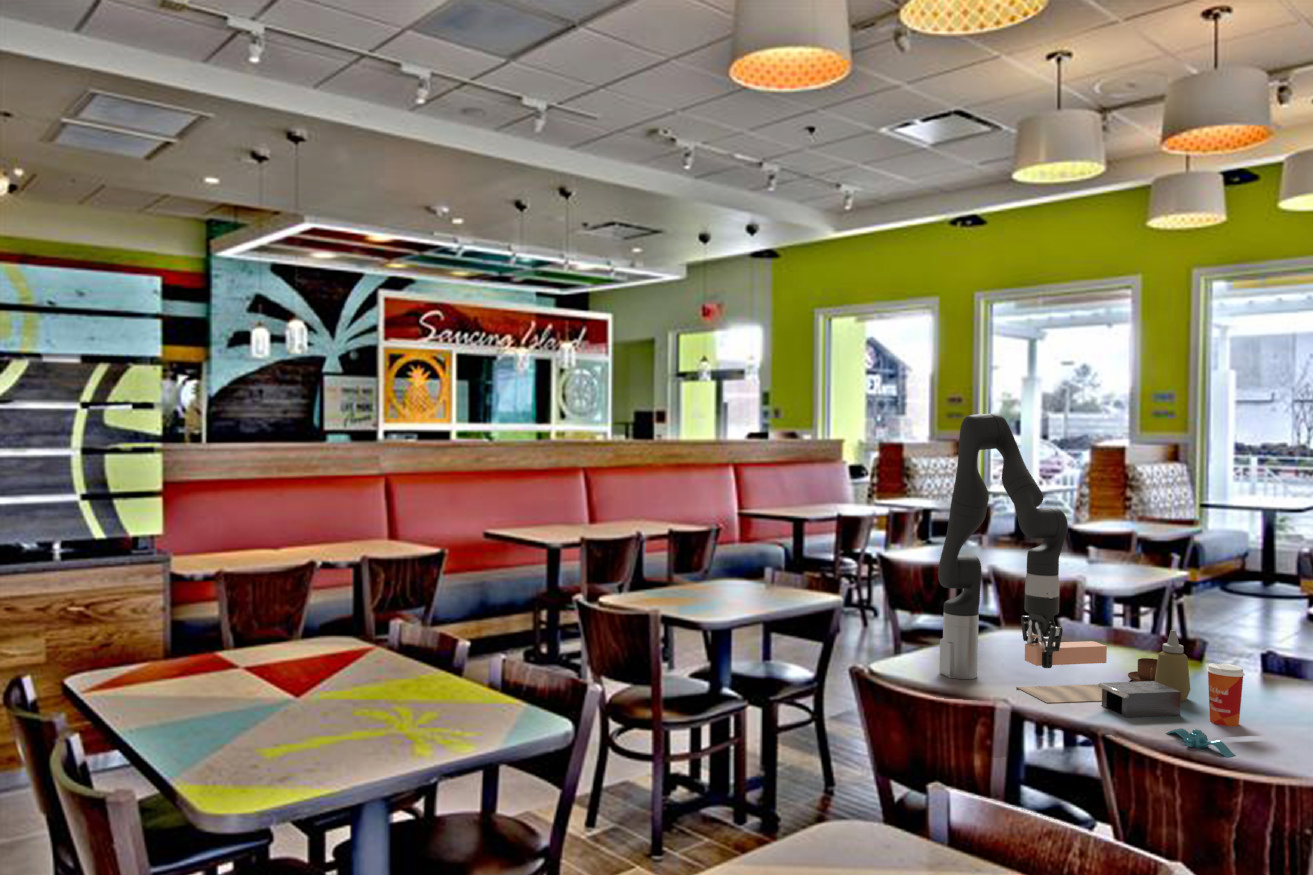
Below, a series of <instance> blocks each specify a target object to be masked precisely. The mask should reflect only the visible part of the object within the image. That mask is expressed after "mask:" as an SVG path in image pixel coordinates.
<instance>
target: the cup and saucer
mask: <svg viewBox="0 0 1313 875" xmlns="http://www.w3.org/2000/svg"><path fill="white" fill-rule="evenodd" d="M1157 661H1158V658H1149V657H1141V658H1138V659H1137V670H1135V671H1130V672H1128V673H1127V677H1128V678H1129V680H1131V682H1142V681H1155V675H1156V668H1157Z"/></svg>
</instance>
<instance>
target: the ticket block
mask: <svg viewBox="0 0 1313 875" xmlns="http://www.w3.org/2000/svg"><path fill="white" fill-rule="evenodd" d="M1047 644H1048V642H1046V646H1047ZM1054 646H1055V642H1054ZM1107 646H1108V645H1104V644H1102V643H1099V642H1096V641H1094V640H1093V641H1091V640H1090V641H1089V640H1088V641H1064V642H1062V641H1061V643H1060V648H1059V651H1054V652H1053V655H1052V666H1065V665H1066V666H1067V665H1087V664H1088V665H1089V664H1107V654H1108V652H1107V650H1108V647H1107ZM1042 652H1043V650H1042V645H1041V642H1039V643H1029V644H1027V643H1024V661H1026V662H1028V663H1029V664H1031V665H1034V666H1036V667H1039V666H1040V667H1042Z"/></svg>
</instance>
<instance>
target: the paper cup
mask: <svg viewBox="0 0 1313 875" xmlns="http://www.w3.org/2000/svg"><path fill="white" fill-rule="evenodd" d="M1206 671H1207V684H1208V708H1209V709H1208V710H1209V721H1210V722H1211V723H1212V724H1216V725H1219V726H1222V727H1223V726H1224V727H1238V726H1239V725H1240V716H1241V705H1242V694H1243V682H1244V676H1245V675H1246V674H1245V672H1244V669H1243V667H1241V666H1238V665H1236V664H1231V663H1230V664H1229V663H1223V662H1221V663H1218V662H1217V663H1216V662H1215V663H1212V662H1211V663H1209V664H1208V667H1207V668H1206Z"/></svg>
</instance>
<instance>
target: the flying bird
mask: <svg viewBox="0 0 1313 875" xmlns="http://www.w3.org/2000/svg"><path fill="white" fill-rule="evenodd" d="M1164 734H1165V735H1171V734H1177V735H1178V736H1180V738H1182V739H1183V741H1184V746H1188V747H1191V748H1196V749H1198V750H1199V749H1205V748H1208V747H1209V746H1210V745H1212V746H1214V747H1215V748H1216V749H1218V751H1219V752H1220V753H1221V755H1222V756H1223V757H1225V758H1227V759H1228V758H1232V757H1236V756H1237V755H1236V754H1235V753H1234V752H1232V751H1231V749H1230V748H1229V747H1228V746H1227V745H1226V744H1225V743H1224V742H1223V741H1222V740H1218V739H1216V740H1211V741H1208V740H1209V738H1208V735H1207V734H1205V732H1203V730H1201V729H1199V728H1194V729H1192V732H1188V730H1186V729H1184V728H1177V729H1171V730H1169V731H1167V732H1165V733H1164Z"/></svg>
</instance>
